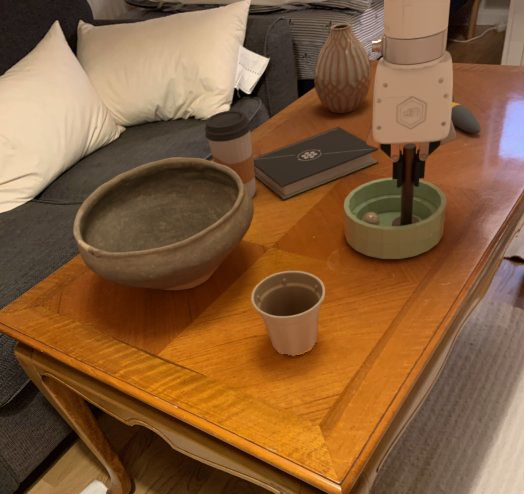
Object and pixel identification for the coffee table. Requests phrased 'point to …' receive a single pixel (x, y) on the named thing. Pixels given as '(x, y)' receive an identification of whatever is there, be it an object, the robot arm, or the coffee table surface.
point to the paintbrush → (464, 118)
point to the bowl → (164, 223)
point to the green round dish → (389, 208)
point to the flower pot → (290, 309)
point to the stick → (407, 187)
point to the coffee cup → (232, 144)
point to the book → (313, 162)
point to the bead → (371, 218)
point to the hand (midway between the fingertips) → (408, 181)
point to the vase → (342, 71)
